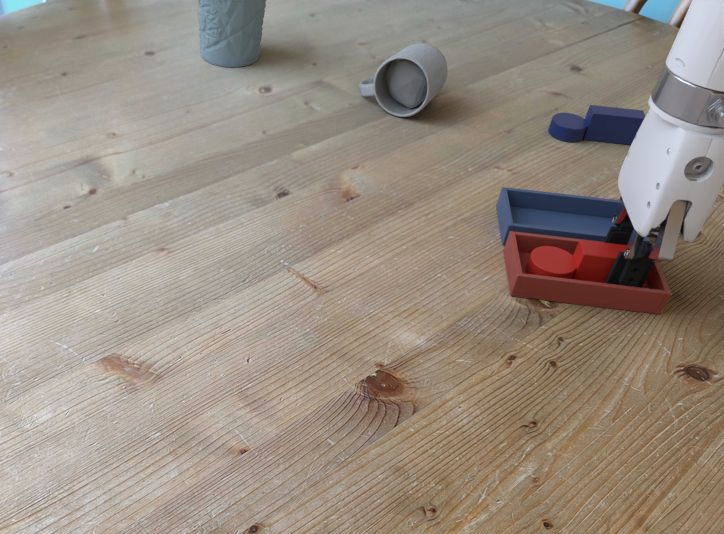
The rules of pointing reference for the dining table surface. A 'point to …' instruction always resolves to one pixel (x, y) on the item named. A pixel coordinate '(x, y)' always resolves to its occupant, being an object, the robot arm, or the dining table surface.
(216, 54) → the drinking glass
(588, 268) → the red cylinder-cube piece
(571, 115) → the blue cylinder-cube block
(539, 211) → the blue bin
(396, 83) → the ceramic mug
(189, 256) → the dining table surface
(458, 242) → the dining table surface
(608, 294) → the red bin
